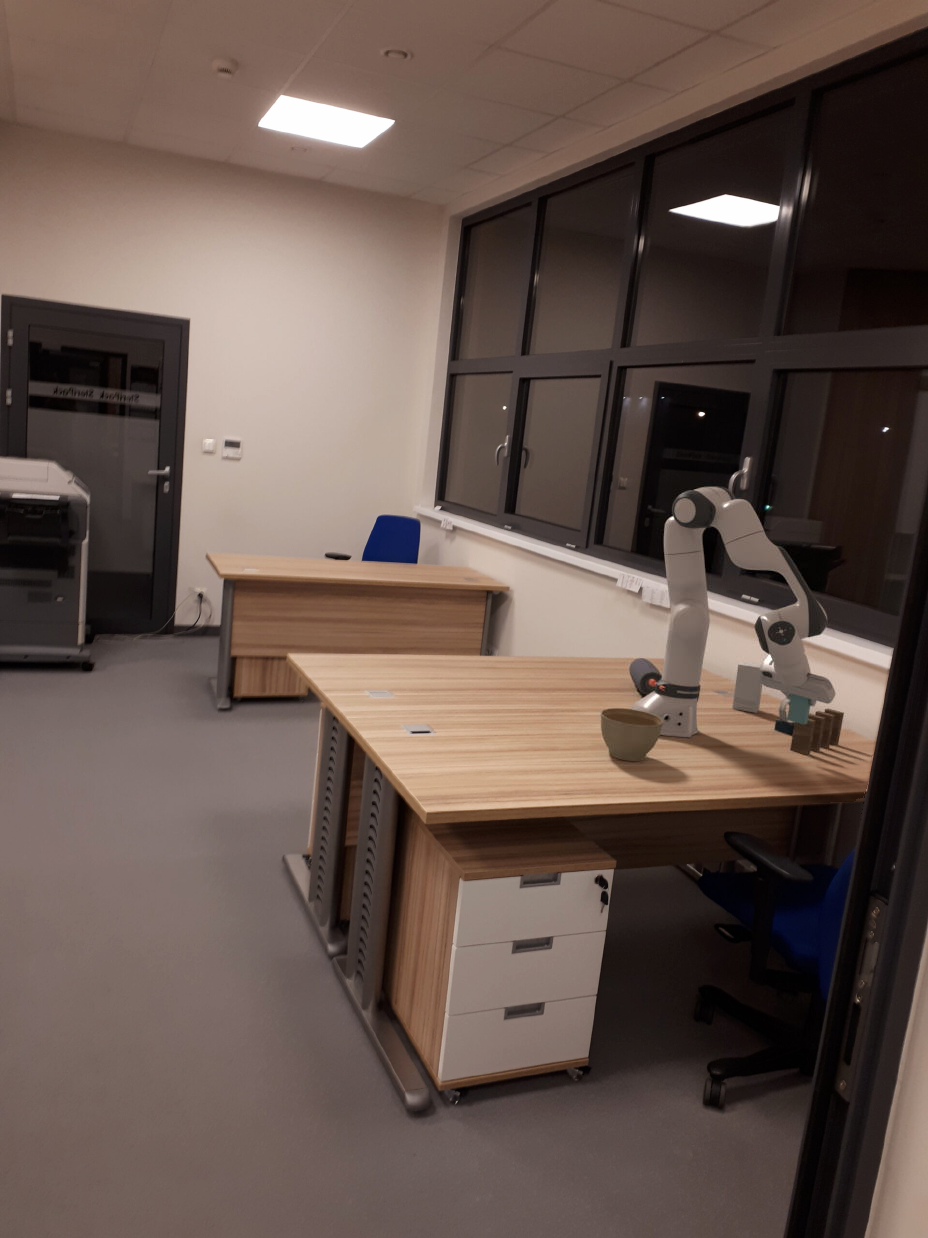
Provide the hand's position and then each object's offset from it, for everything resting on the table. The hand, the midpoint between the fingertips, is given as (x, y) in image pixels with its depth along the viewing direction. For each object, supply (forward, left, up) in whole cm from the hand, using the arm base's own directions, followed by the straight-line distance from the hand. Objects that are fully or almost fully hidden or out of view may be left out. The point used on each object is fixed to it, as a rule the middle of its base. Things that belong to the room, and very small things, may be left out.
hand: (801, 701), depth 264 cm
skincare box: (+15, +48, -16) cm, 53 cm away
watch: (+14, +23, -16) cm, 32 cm away
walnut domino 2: (+10, +7, -16) cm, 20 cm away
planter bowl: (-53, -4, -16) cm, 56 cm away
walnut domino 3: (+16, +10, -16) cm, 25 cm away
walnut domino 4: (+22, +13, -16) cm, 30 cm away
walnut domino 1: (+5, +3, -16) cm, 17 cm away
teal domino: (-1, 0, -6) cm, 6 cm away
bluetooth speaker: (-13, +67, -16) cm, 70 cm away
